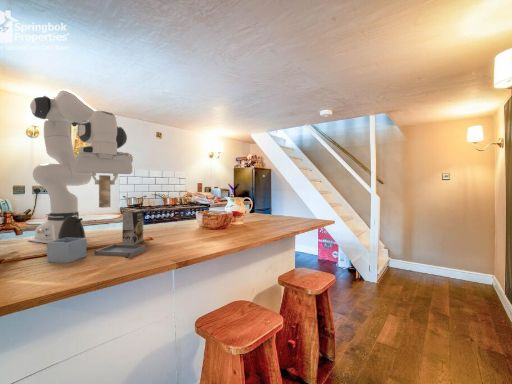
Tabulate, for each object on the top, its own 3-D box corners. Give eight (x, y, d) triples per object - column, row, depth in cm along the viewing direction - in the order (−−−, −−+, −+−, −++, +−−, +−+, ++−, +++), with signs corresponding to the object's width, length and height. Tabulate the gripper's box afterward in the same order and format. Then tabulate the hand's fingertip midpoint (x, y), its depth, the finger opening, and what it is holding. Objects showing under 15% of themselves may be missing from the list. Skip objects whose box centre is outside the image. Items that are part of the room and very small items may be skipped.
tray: (94, 256, 100) (94, 250, 100) (114, 248, 112) (114, 243, 112) (129, 258, 98) (129, 252, 98) (145, 250, 110) (145, 245, 110)
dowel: (96, 207, 99) (96, 175, 98) (103, 206, 102) (103, 175, 102) (105, 207, 98) (105, 175, 98) (112, 206, 102) (112, 175, 102)
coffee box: (134, 245, 119) (135, 212, 118) (121, 244, 119) (122, 211, 119) (143, 240, 128) (144, 210, 128) (131, 240, 128) (131, 209, 128)
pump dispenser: (70, 253, 102) (70, 217, 102) (50, 251, 104) (50, 216, 104) (91, 247, 112) (91, 215, 112) (73, 246, 114) (73, 214, 114)
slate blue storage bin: (47, 263, 90) (47, 242, 89) (67, 256, 98) (67, 237, 98) (68, 264, 89) (68, 243, 89) (86, 258, 97) (86, 238, 97)
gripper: (131, 153, 109) (131, 184, 109) (73, 149, 96) (74, 184, 96) (134, 152, 104) (134, 184, 104) (74, 147, 91) (74, 184, 91)
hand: (104, 184), depth 100 cm, fingers closed on dowel, 4 cm apart
